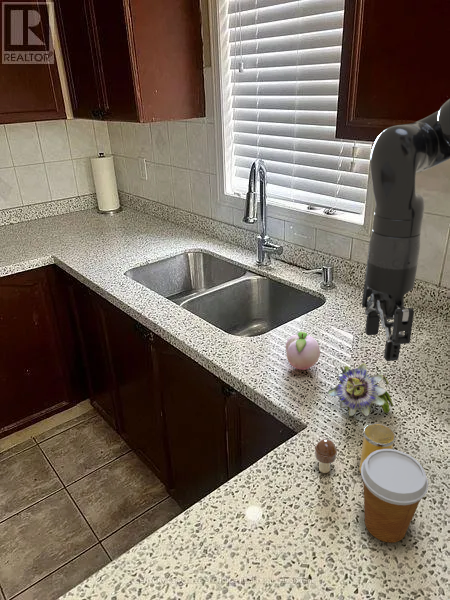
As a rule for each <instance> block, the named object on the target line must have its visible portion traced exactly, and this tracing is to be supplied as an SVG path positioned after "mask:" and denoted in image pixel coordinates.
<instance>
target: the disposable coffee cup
mask: <svg viewBox="0 0 450 600" xmlns="http://www.w3.org/2000/svg"><path fill="white" fill-rule="evenodd" d="M360 475H361V476H360V477H361V479H362V482H363V506H364V507H363V509H364V525H365V527H366V529H367V531H368V532H369V533H370V534H371V535H372V536H373V537H374V538H376V539H377V540H379V541H381V542H384V543H390V544H393V543H397V542H400V541H402V540H403V539H404V538H405V536H406V534H407V532H408V529H409V527H410V525H411V522H412V520H413V517H414V516H415V513H416V511H417V508H418V506H419V504H420V502H421V500H422V499H423V498H424V497H425V496H426V495H427V493H428V491H429V481H428V477H427V474H426V471H425V468H424V467H423V466H422V464H421V463H420V462H419V461H418V460H417V459H416V458H415V457H413V456H412V455H410V454H408V453H407V452H404V451H402V450H398V449H380V450H376V451H374V452H372V453H371V454H370V455H369V456H368V457H367V458H366V459H365V460H364V462H363V463H362V466H361V473H360Z"/></svg>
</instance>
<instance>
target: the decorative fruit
mask: <svg viewBox="0 0 450 600" xmlns="http://www.w3.org/2000/svg"><path fill="white" fill-rule="evenodd" d="M285 352H286V359H287V361H288V363H289V365H291V367H293V368H294V369H297V370H308V369H310V368H312V367H313V366H314V365H316V363H317V362H318V361H319V359H320V356H321V348H320V345H319V343H318V341H317V340H316V339H315V338H314V337H312V336H311V335H308V333H307V332H305V331H298V332H297V333H296V334H294V335H292V336H290V337H289V338H288V339H287V341H286V343H285Z"/></svg>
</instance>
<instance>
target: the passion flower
mask: <svg viewBox="0 0 450 600" xmlns="http://www.w3.org/2000/svg"><path fill="white" fill-rule="evenodd" d="M339 369H340V370H341V373H340V374H337V376H336V378H337V379H338V380H339V383H338V384H337V385H336V386H335V387H333V388H331V389H329V390H328V391H327V395H329V396H330V397H337V398H338V399H339V400H340V403H339V407H340V409H348V411H347V412H348V416H349V417H352V416H355V414H356V413H357V411H358V410H360V411H361V414H363V415H364V416H365V417H368V416H369V415H370V414H371V408H372V405H376V406H380V407H381V410H382V411H383V413H384V414H388V413H389V412H390V407H391V408H392V407H394V403H393V401H392V398H391V395H390V394H389V392H388V391H387V390H386V389H385V388H384V387H383V386H381V385H379V383H380V382H381V381H382V380H384V381H385V385H390V384H389V383H390V382H389V380H388V378H387V377H386V375H385V374H373V375H370V374H369V373H368V366H367V364H366V363H365V362H363V363H360V364H359V366H358V367H355V368H351V367H350V366H348V365H345V366H344V368H343V367H342V366H340V367H339Z"/></svg>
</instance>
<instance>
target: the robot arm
mask: <svg viewBox="0 0 450 600" xmlns="http://www.w3.org/2000/svg"><path fill="white" fill-rule="evenodd" d="M448 160H450V98H449V99H447V100H446V101H445V102H444V103H443V104H442V105H441V106H440V108H439V109H438V110H437V111H435V112H433V113H432V114H429V115H428V116H426V117H424V118H421V119H419V120H417V121H414V122H409V123H404V124H397V125H392V126H389V127H387V128H385V129H384V130H383V131H382V132H381V133H380V134H379V135H378V136H377V137H376V139H375V141H374V144H373V146H372V149H371V153H370V163H369V164H370V167H369V168H370V175H371V176H370V177H371V183H372V192H373V197H374V202H375V204H374V205H375V206H374V211H373V213H374V214H373V221H372V230H371V235H370V239H369V243H368V251H367V258H366V260H367V261H366V268H365V278H364V285H363V292H362V293H363V294H362V300H361V306H362V308H365V309H364V313H365V315H366V319H365V327H364V328H365V329H364V333H365V335H367V336H376V335H379V329H380V325H381V328H383V329H384V331H385V337H386V339H385V346H384V353H383V358H384V360H385V361H386V362H395V361H398V360H399V357H400V350H401V345H408V344H411V339H412V338H411V337H412V331H413V330H412V329H413V321H414V315H415V312H414V311H415V310H414V308H413V307H405V302H404V301H405V298H404V297H405V295H406V294H407V293H409V292H411V291H412V290H413V289H414V287H415V282H416V276H417V269H418V264H419V257H420V252H421V235H422V227H423V222H424V215H425V205H426V204H425V203H426V201H425V198H424V196H423V195H422V194H421V193H419V192H417V191H416V175H417V174H419V173H423V172H425V171H428V170H429V169H430V170H431V169H432V168H434V167H436V166H439V165H440V164H443V163H445V162H446V161H448ZM369 297H370V298H369ZM391 320H393V321H391ZM390 321H391V322H390Z"/></svg>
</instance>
